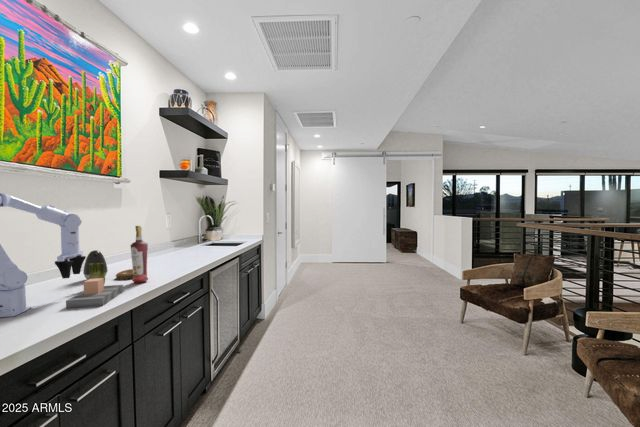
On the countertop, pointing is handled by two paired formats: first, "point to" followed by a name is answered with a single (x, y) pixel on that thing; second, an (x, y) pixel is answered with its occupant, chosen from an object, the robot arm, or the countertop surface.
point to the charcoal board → (94, 297)
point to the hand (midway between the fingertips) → (71, 276)
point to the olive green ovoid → (94, 258)
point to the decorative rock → (125, 274)
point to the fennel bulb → (98, 274)
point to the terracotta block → (93, 286)
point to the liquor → (139, 257)
